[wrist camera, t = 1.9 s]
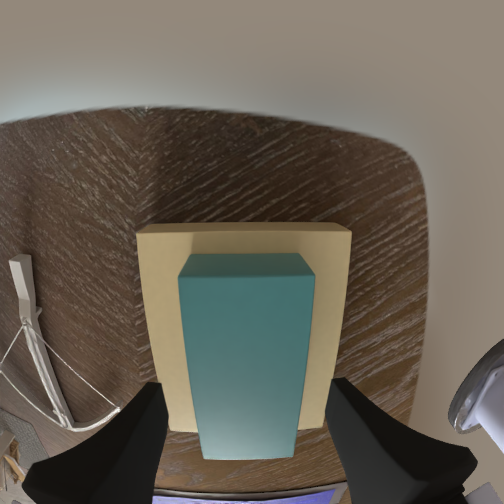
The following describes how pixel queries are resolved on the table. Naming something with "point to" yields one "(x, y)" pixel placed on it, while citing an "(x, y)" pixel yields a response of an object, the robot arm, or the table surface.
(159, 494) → the booklet
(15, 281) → the crossbow
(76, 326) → the table surface
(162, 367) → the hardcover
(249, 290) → the teal rectangular block
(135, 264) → the table surface
